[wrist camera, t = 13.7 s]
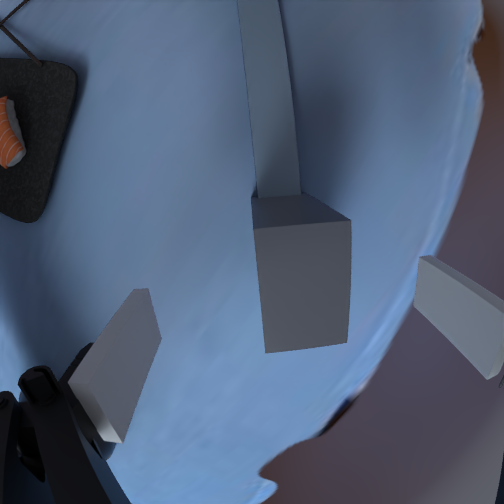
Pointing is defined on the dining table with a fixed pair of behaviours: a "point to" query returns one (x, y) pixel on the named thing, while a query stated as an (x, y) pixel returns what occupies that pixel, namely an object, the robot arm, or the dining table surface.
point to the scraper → (289, 205)
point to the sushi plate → (31, 128)
